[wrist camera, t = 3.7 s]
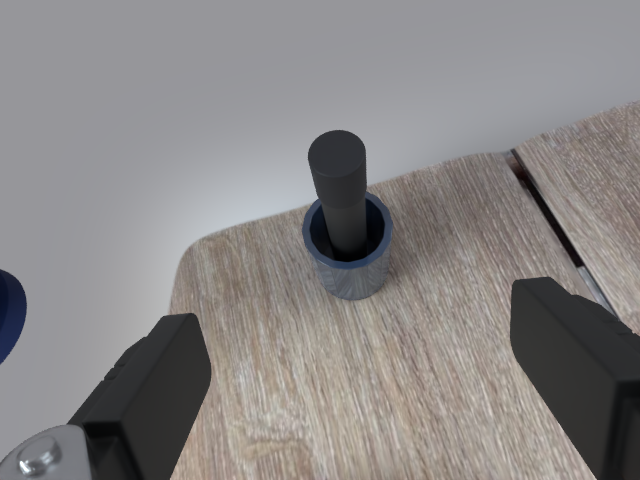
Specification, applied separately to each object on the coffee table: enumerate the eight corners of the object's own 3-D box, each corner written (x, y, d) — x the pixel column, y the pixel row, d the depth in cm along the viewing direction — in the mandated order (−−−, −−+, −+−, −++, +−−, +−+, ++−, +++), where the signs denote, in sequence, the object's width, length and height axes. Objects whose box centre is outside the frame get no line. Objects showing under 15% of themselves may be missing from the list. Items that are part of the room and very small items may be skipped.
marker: (339, 282, 30) (313, 183, 17) (331, 251, 31) (302, 137, 18) (372, 274, 30) (372, 168, 17) (364, 243, 31) (357, 123, 18)
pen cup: (325, 308, 30) (312, 279, 23) (310, 242, 32) (295, 200, 26) (397, 290, 30) (404, 256, 23) (377, 225, 32) (378, 178, 26)
